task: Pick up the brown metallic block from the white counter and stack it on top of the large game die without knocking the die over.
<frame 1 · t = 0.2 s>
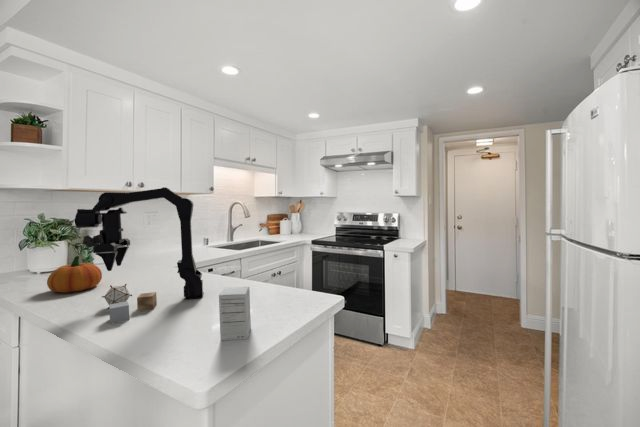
hand: (114, 268, 109), 14 cm above the counter, tool pointing down, fingers open, 9 cm apart
brown metallic block: (147, 308, 106), on the counter
grey block: (119, 319, 96), on the counter
pumpkin: (76, 289, 134), on the counter
supplement box: (236, 335, 83), on the counter
game die: (118, 307, 109), on the counter
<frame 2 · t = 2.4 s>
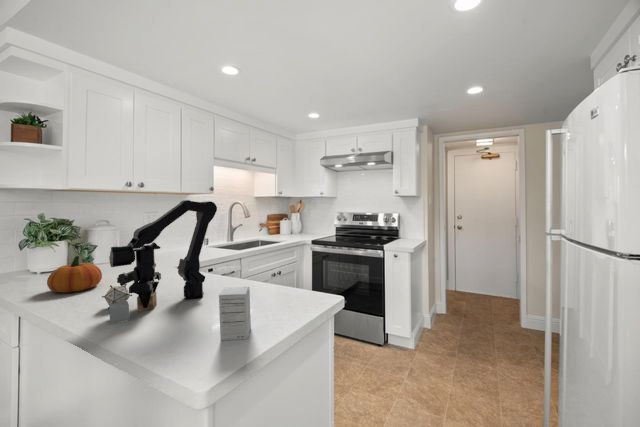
hand: (147, 305, 106), 1 cm above the counter, tool pointing down, fingers closed on brown metallic block, 5 cm apart
brown metallic block: (147, 308, 106), on the counter, touching gripper
everything else where it was.
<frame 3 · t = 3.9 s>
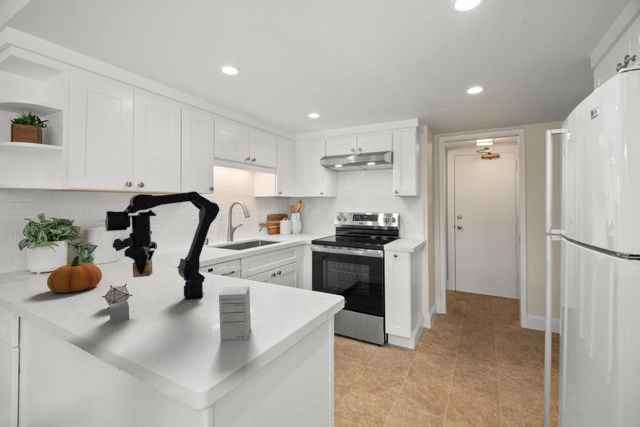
hand: (143, 272, 106), 13 cm above the counter, tool pointing down, fingers closed on brown metallic block, 5 cm apart
brown metallic block: (143, 275, 106), point 12 cm above the counter, touching gripper
everything else where it was.
when the fingers open (10 cm above the counter, at t = 5.5 s): brown metallic block drops 2 cm, resting on game die.
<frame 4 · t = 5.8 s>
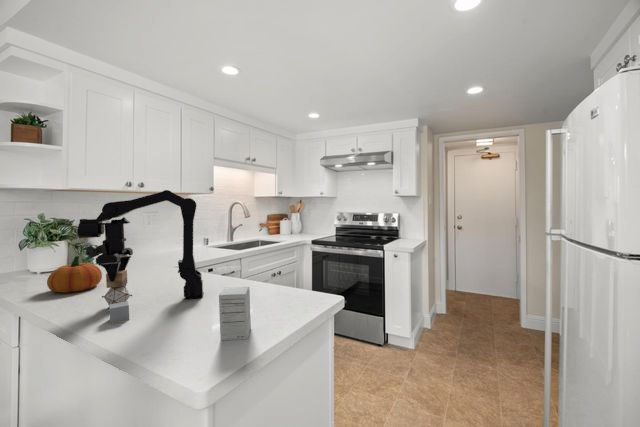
hand: (116, 278, 108), 10 cm above the counter, tool pointing down, fingers open, 8 cm apart
brown metallic block: (117, 285, 108), point 8 cm above the counter, touching game die
game die: (117, 307, 109), on the counter, touching brown metallic block
everything else where it was.
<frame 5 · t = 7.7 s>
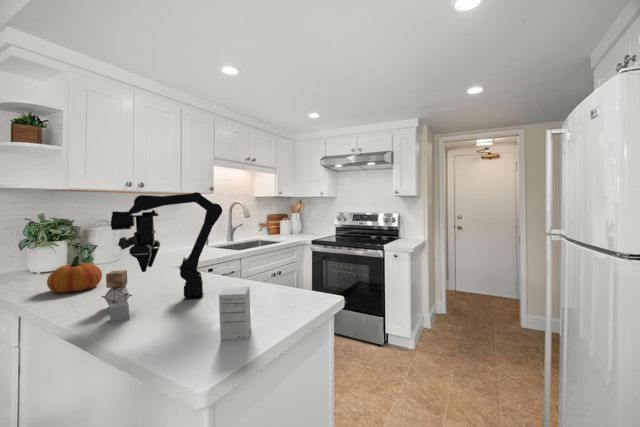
hand: (147, 269, 111), 13 cm above the counter, tool pointing down, fingers open, 9 cm apart
nothing on the counter moved.
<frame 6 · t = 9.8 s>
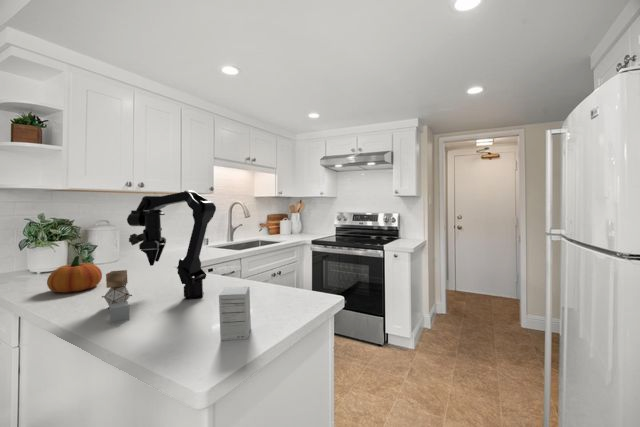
hand: (154, 263, 123), 13 cm above the counter, tool pointing down, fingers open, 9 cm apart
nothing on the counter moved.
at the end: brown metallic block inside the target area on the game die (0.2 cm from its centre), point 8.2 cm above the game die's base; brown metallic block tilted 0°; the gripper is holding nothing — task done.
